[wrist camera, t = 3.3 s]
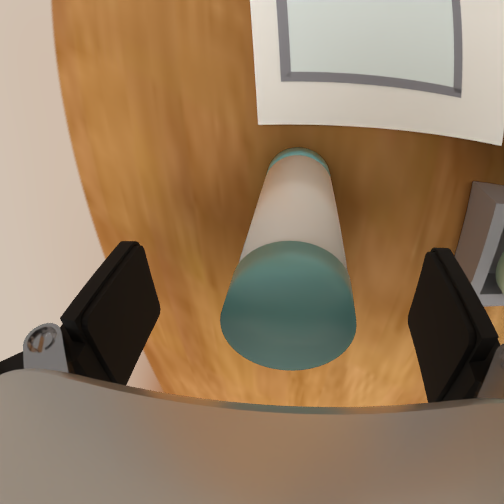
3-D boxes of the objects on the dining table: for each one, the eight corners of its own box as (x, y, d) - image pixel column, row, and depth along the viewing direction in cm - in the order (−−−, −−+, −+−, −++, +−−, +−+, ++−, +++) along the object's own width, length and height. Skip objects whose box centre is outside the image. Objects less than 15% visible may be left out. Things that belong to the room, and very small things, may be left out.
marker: (331, 147, 16) (366, 278, 7) (329, 207, 18) (345, 371, 9) (264, 146, 17) (211, 273, 7) (267, 205, 18) (228, 366, 9)
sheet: (490, -68, 6) (493, -69, 6) (499, 144, 14) (502, 146, 13) (242, -105, 8) (241, -107, 8) (259, 123, 16) (257, 125, 16)
